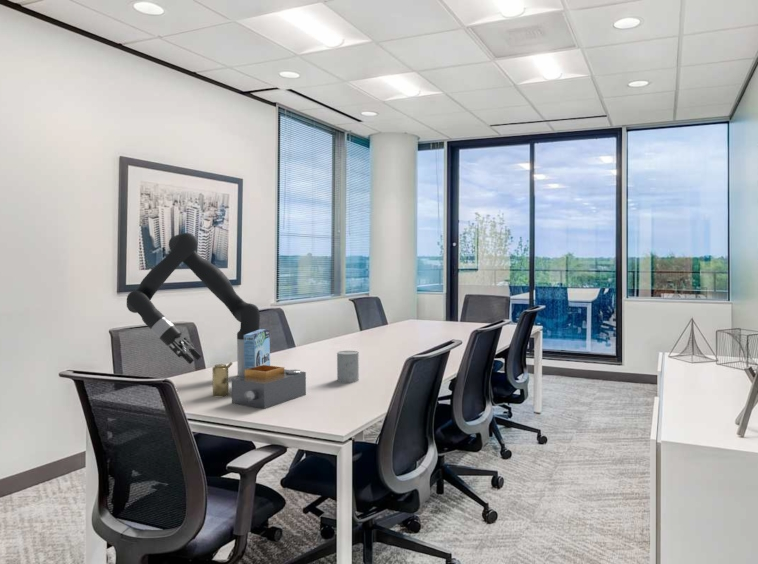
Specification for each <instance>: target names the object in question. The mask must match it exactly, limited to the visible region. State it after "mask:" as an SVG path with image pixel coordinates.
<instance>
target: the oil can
mask: <svg viewBox="0 0 758 564" xmlns="http://www.w3.org/2000/svg"><path fill="white" fill-rule="evenodd" d="M232 365H233V362H229V363H228V364H227V365H226V364H223V363H219V364H215V365H214V366H213V367H212V397H215V396H223V397H227V396H229V395H230V394H229V392H230V391H229V387H230V386H229V368H230V367H231V366H232ZM228 394H229V395H228ZM226 395H227V396H226Z"/></svg>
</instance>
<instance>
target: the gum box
mask: <svg viewBox="0 0 758 564" xmlns="http://www.w3.org/2000/svg"><path fill="white" fill-rule="evenodd" d="M270 338H271V337H270V329H268V328H267V329H266V328H265V329H263V328H262V329H261V328H259V330H257V331H254V332H251V333H248V334H246V335H244V376H245V369H248V368H252V367H256V366H261V365H270V366H271V351H270V349H271V348H270V347H271V346H270V341H271V340H270Z"/></svg>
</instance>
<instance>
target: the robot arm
mask: <svg viewBox="0 0 758 564" xmlns="http://www.w3.org/2000/svg"><path fill="white" fill-rule="evenodd" d="M198 245H199V244H198V239H197V237H196V236H195V235H194V234H192V233H188V232H183V233H182V232H181V233H180V234H176V235H174V236H172V237H171V238H170V239H169V242H168V247H169V250H170V252H169V253H168V254H167V255H166V256H165V257H164V258H163V259H162V260H161V261H160V262H158V263H157V264H155V266H154V267H153V268H152V269H151V270H150V271H149V272H148V273H147V274H146V275H145V277H144V278H143V279H142V280H141V281H140V284H139V286H138V288H137V289H136V290H133V291H130V292H129V293H128V295H127V296H126V308H127V310H128V311H129V312H130V313H134V314H138V315H139V316H140V317H141V320H142V322H143V323H144V324H145V325H146V326H147V327H148V328H149V329H150V330H151V332H153V334H154V335H156V337H158V339H159V340H160V341H162V342H163V344H164V345H166V346H167V347H168V348H169V349H170V350H171V351H172V352H173V353H174V354H175V355H176V356H177V357H178V358H183V359H184V360H185V361H186V362H187V363H188V364H189V365H190V364H192V363H193V362H194V360H200V359H201V357H202V354H200V353H199V352H198V351H197V350H196V349H197V348H196V346H195V345H194V344H193V342H192V341H190V340H189V339H188V338H187V337H185V336H184V338H183V337H181V336H182V334H183V332H182V331H181V329H179V327H177V326H176V325H175V324H174V323H173V322H172V321H171V320H170V319H169V318H167V317H166V316H165V315H164V314H163V313H162V311H160V310H159V309H157V307H156V306H155V304H153V302H152V301H151V300H152V299H153V297H154V295H155V294H156V293H157V292H158V291H159V290H160V288H161V287H162V286H163V285H164V283H165V282H166V281H167V280H168V278H169V277H170V276H171V275H172V273H174V271H175V270H176V269H177V268H178V267H179V266H180V265H182V263H183V264H184V265H185V266H187V268H188V269H190V270H191V271H192V273H194V275H195V276H196V278H198V279H199V280H200V281H201V282H202V283H203V284H204V286H205V287H206V288H208V290H209V291H210V292H211V293H212V294H213V295H214V296H215V297H216V298H217V299H218V300H219V301H221V303H223V305H225V307H226V308H227V309H228V310H229V312H230V313H231V315H233V317H234V318H235V319H236V321H238V322H239V323H240V326H239V330H238V331H237V334H236V344H237V345H236V348H237V349H236V353H237V360H236V361H237V378H238V377H242V376H244V335H246V334H248V333H251V332H254V331H257V330H259V329H260V326H261V324H260V323H261V322H260V321H261V320H260V319H261V316H260V310H259V308H258V306H257V305H256V304H253V303H251V302H250V303H248V302H247V301H245V300H243V298H241V297H240V296H239V295H238V293H236V291H235V289H234V287H233V284H232V283H231V281H230V280H229V278H228V277H227V275H225V274H224V272H223V271H222V270H221V269H220V268H219V267H218V266H217V265H214V264H213V263H211V262H210V261H208V260H207V259H204V257H202V256H201V255H200V254H198V253H197V251H196V250H197V248H198ZM190 354H191V355H190ZM193 357H194V358H195V359H194V358H193Z"/></svg>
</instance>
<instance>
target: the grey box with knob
mask: <svg viewBox="0 0 758 564" xmlns="http://www.w3.org/2000/svg"><path fill="white" fill-rule="evenodd" d="M306 374H307V372H306V371H301V369H285V367H284V366H278V365H271V364H270V365H261V366H256V367H252V368H248V369H245V376H242V377H238V376H237V377H236V378H235V377H234V378H232V379H231V404H234V403H235V404H236V405H241V406H245V405H246V406H247V407H253V408H257V409H264V410H265V409H268V408H271V407H274V406H277V405H280V404H282V403H286V402H289V401H291V400H295V399H297V398H300V397H303V396H305V395H307V383H306V382H307V380H306V379H307V377H306V376H307V375H306ZM235 404H234V405H235Z"/></svg>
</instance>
